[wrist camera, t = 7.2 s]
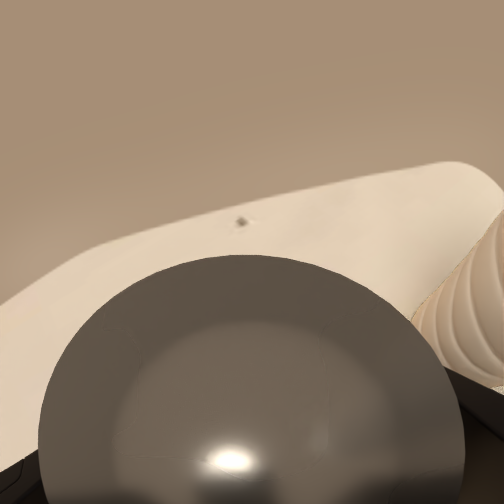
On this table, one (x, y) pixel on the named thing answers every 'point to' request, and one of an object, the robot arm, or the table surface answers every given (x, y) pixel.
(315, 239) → the table surface
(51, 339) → the table surface
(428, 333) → the water bottle
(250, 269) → the metal cylinder
